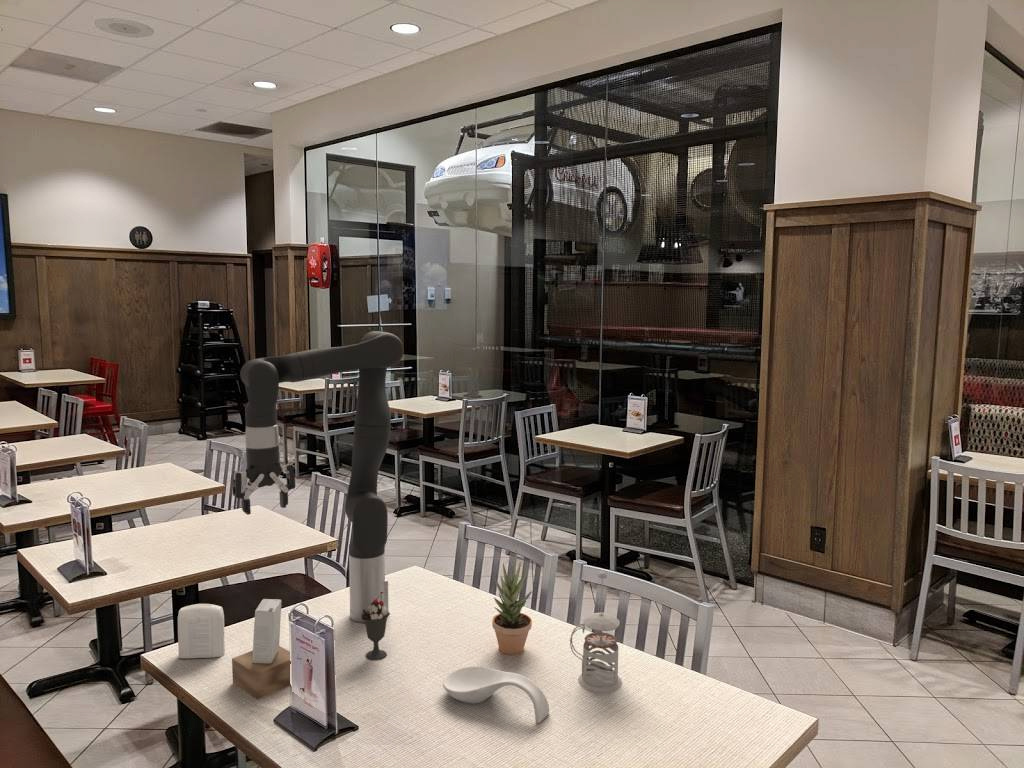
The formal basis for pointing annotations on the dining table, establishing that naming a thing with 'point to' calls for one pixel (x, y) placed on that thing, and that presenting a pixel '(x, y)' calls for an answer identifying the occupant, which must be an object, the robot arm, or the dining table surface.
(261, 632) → the skincare box
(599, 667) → the french press
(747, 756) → the dining table surface
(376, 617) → the sundae
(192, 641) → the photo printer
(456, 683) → the spoon rest
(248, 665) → the walnut block
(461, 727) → the dining table surface
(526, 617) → the potted plant
